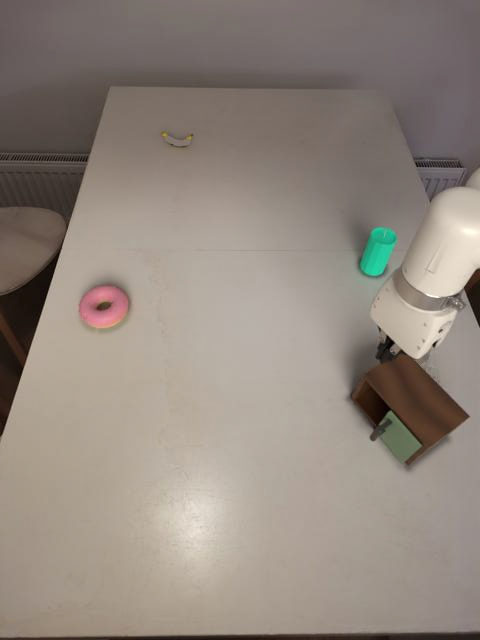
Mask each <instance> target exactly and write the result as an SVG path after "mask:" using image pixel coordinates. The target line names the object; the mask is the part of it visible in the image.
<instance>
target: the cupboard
mask: <svg viewBox="0 0 480 640" xmlns="http://www.w3.org/2000/svg"><path fill="white" fill-rule="evenodd" d="M350 399H351V401H352V402H353V403H354V404H355V405H356V406H357V408H358V409H359V410H360V411H361V413H362V414H363V415H364V416H365V417H366V418H367V420H368V421H369V422H370V423H371V424H372V425H373V427H374V429H376V427H377V426H378V425H379V424H380V422H381V421H382V420H383V418H384V417H385V416H386V414H387V413H388V412H389V411H390V410H391V411H392V412H393V413H394V414H395V416H396V417H397V418H398V419H399V420H400V421H401V422H402V423H403V425H404V426H405V427H406V428H407V429H408V430H409V431H410V432H411V434H412V435H413V436H414V437H415V438H416V439H417V440H418V442H419V443H420V444H421V445H422V446H421V447H420V448H419V449H418V450H417V451H416V452H415V453H414V454H413V455H411V456H410V457H409V458H408V459H407V460H406V461H405V462H404V463H405V464H406V465H407V467H409V466H411V465H412V464H413V463H414V462H415V461H417V460H418V459H419V458H421V457H422V456H424V455H425V454H426V453H427V452H429V451H430V450H431V449H433V448H434V447H435V446H437V445H438V444H439V443H440V442H442V441H443V440H445V439H446V438H447V437H448V436H450V434H452V433H453V432H454V431H455V430H457V428H459V427H460V426H461V425H462V424H464V423H465V422H466V421H467V420H468V419H469V418H471V416H470V414H469V413H468V412H467V411H466V410H465V409H464V408H462V406H461V405H459V403H458V402H457V401H456V400H455V399H454V398H453V397H452V396H451V395H450V394H449V393H448V392H447V391H446V390H445V389H444V388H443V387H442V386H441V385H440V384H439V383H438V382H437V381H436V380H435V379H434V378H433V377H432V376H431V375H430V374H429V373H428V372H427V371H426V370H425V369H424V368H423V367H422V366H421V365H420V363H419V362H417V361H416V360H415V359H413V358H412V357H411V356H409V355H404V354H400V355H399V356H398V358H397V359H395V360H394V361H393V362H390V361H389V360H388V361H387V362H385V363H384V364H381V363H380V362H379V363H377V364H376V365H375V366H373V367H371V368H370V369H368V370H367V371H365V372H363V373H362V375H361V377H360V379H359V381H358V383H357V384H356V386H355V388H354V390H353V391H352V394H351V396H350Z"/></svg>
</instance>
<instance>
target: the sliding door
mask: <svg viewBox="0 0 480 640" xmlns="http://www.w3.org/2000/svg"><path fill="white" fill-rule="evenodd" d="M368 438H369V440H370V441H371V442H375V441H376V440H377V439H380V440H381V441H382V443H384V445H385V446H386V447H387V448H388V449H389V451H390V452H391V453H392V454H393V456H394V457H395V458H396V459H397V460H398V462H399V463H400V464H404V463H405V461H406V460H407V459H408V458H409V457H410V456H411V455H413V454H414V453H415V452H416V451H417V450H418V449H419V448H420V447H421V446H422V445H421V444H420V443H419V442H418V440H417V439H416V438H415V437H414V436H413V435H412V434H411V432H410V431H409V430H408V429H407V428H406V427H405V426H404V425H403V423H402V422H401V421H400V420H399V419H398V418H397V417H396V416H395V414H394V413H393V412H392V411H391V410H390V411H389V412H388V413H387V414H386V416H385V417H384V418H383V420H382V421H381V422H380V424H379V425H378V426H377V427H376V428H374V430H373V431H372V433H371V434H369V437H368Z"/></svg>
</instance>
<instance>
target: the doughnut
mask: <svg viewBox="0 0 480 640" xmlns="http://www.w3.org/2000/svg"><path fill="white" fill-rule="evenodd" d="M103 303H110V306H109V307H107V309H105V308H104V309H103V310H99V309H98V306H100V305H102V304H103ZM77 305H78V313H79V316H80V318H81V320H82V321H83V322H84V323H85V324H87V325H88V326H90V327H93V328H97V329H107V328H110V327H114V326H115V325H117V324H119V323H120V322H121V321H122V320H123V319H125V317H126V316H127V314H128V312H129V305H130V301H129V297H128V296H127V294H126V292H124V291H123V289H121V288H119V286H115V285H109V284H108V285H104V284H102V285H99V286H95V287H93V288H91V289H89V290H88V291H86V293H84V294H83V296H81V299H80V301H79V304H77Z"/></svg>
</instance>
